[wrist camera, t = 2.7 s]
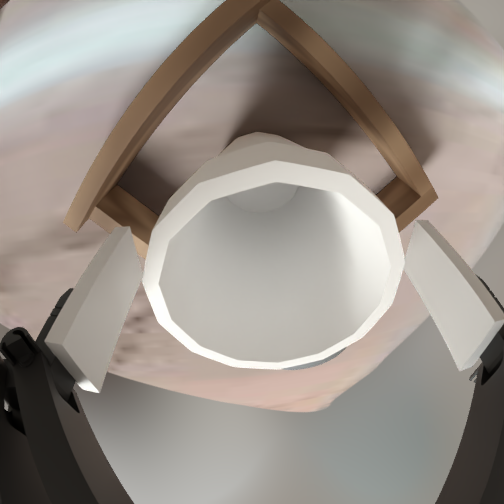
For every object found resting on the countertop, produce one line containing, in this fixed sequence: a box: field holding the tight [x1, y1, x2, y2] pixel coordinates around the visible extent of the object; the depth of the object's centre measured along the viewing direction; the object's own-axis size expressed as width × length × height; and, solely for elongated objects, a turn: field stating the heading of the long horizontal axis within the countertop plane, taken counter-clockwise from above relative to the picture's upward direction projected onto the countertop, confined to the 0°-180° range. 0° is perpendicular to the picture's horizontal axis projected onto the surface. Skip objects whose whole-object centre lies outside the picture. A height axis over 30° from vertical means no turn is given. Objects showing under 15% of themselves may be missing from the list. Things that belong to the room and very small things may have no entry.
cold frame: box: [63, 0, 438, 259], centre depth 18 cm, size 18×18×6 cm
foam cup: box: [142, 132, 405, 369], centre depth 15 cm, size 10×9×13 cm
